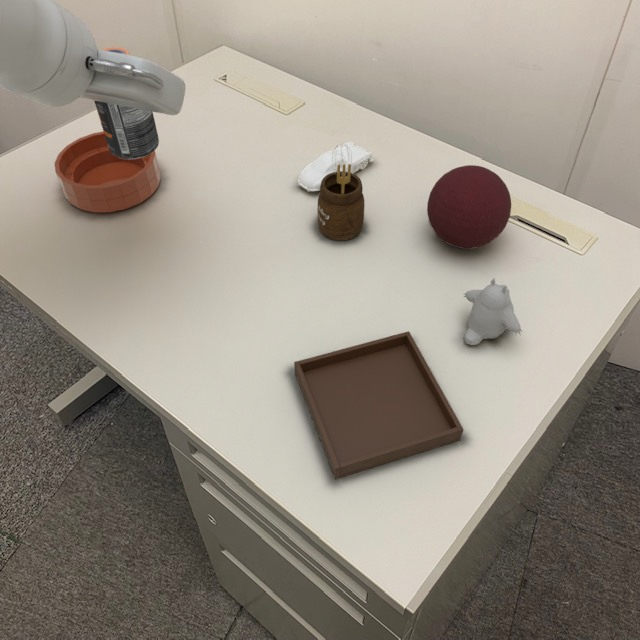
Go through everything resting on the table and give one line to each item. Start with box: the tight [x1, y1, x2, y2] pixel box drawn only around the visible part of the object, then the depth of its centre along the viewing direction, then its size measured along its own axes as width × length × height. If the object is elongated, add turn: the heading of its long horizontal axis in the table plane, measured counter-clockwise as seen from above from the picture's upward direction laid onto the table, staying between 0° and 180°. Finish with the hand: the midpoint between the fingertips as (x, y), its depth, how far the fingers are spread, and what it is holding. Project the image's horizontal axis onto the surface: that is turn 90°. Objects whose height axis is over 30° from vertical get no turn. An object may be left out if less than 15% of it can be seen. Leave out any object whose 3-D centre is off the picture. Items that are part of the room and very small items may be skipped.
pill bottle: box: [93, 46, 160, 159], centre depth 72 cm, size 6×6×11 cm
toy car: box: [297, 141, 374, 193], centre depth 90 cm, size 5×12×4 cm, turn 134°
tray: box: [293, 331, 465, 480], centre depth 65 cm, size 13×13×2 cm
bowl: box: [54, 130, 162, 213], centre depth 89 cm, size 13×13×4 cm
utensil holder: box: [317, 143, 365, 241], centre depth 79 cm, size 6×6×12 cm
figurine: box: [463, 277, 523, 346], centre depth 69 cm, size 8×6×8 cm
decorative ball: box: [426, 164, 512, 250], centre depth 79 cm, size 10×10×10 cm
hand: (125, 98), depth 73 cm, fingers closed on pill bottle, 6 cm apart
